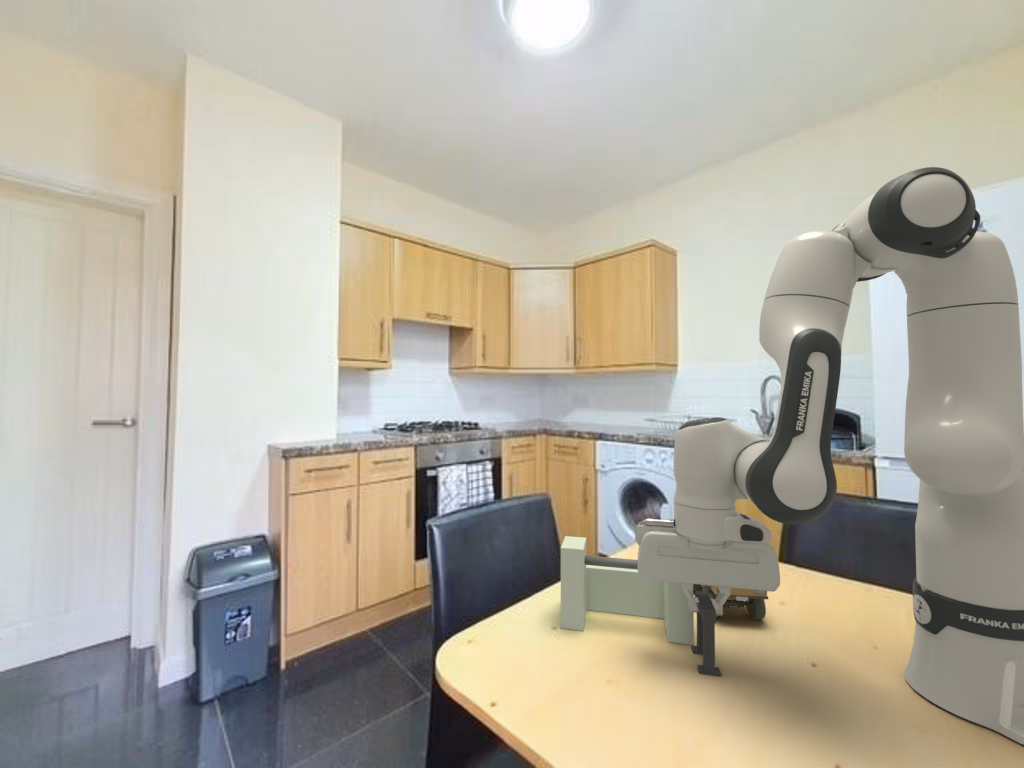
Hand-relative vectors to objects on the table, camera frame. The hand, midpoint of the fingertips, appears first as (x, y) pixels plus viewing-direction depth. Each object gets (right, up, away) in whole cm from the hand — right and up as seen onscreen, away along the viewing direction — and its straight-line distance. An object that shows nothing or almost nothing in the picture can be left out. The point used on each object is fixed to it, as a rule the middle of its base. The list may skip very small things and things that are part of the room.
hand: (705, 612), depth 68 cm
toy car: (+12, -9, +19) cm, 24 cm away
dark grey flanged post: (0, -8, 0) cm, 8 cm away
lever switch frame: (-9, -8, +12) cm, 17 cm away
